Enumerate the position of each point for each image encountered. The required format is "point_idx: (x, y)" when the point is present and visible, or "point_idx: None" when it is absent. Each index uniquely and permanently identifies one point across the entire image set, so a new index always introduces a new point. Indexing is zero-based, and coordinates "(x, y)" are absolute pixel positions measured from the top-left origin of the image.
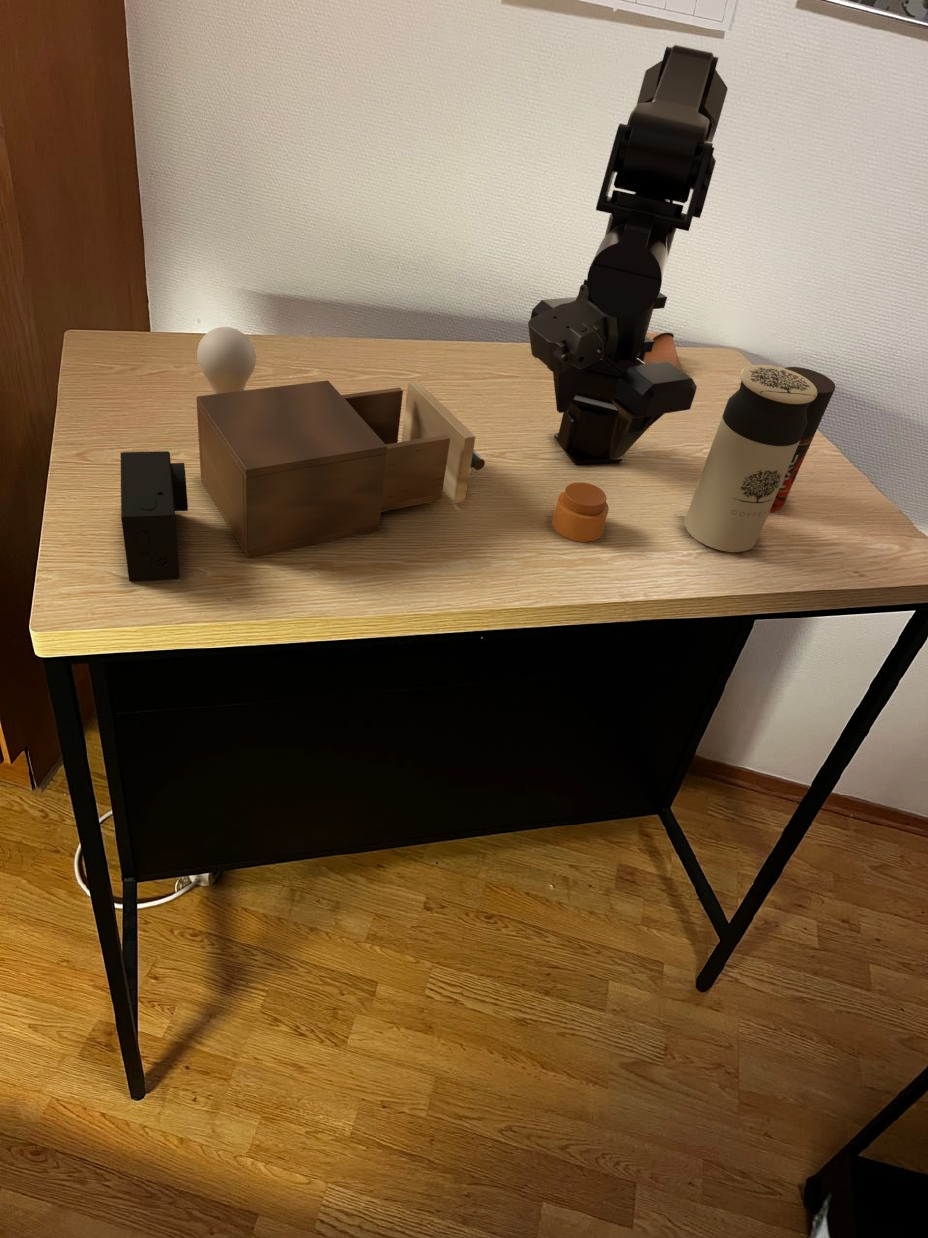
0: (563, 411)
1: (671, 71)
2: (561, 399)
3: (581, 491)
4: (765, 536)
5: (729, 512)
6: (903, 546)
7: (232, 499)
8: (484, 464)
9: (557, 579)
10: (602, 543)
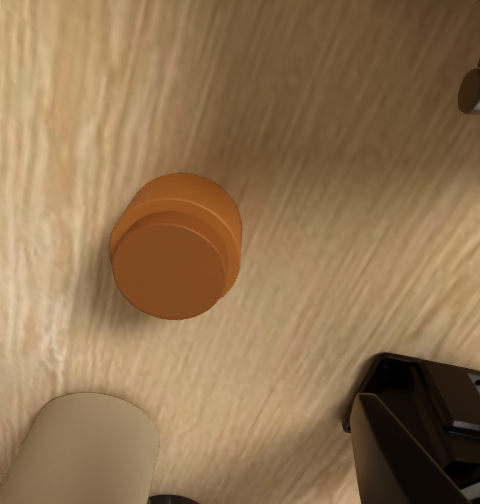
0: (353, 410)
1: None
2: (375, 450)
3: (181, 270)
4: None
5: (12, 474)
6: None
7: None
8: (461, 111)
9: (4, 54)
10: None
